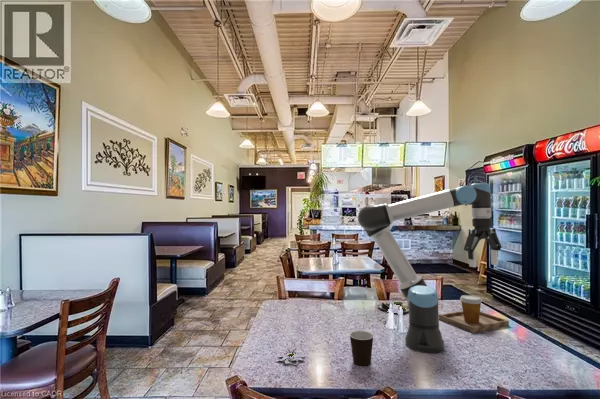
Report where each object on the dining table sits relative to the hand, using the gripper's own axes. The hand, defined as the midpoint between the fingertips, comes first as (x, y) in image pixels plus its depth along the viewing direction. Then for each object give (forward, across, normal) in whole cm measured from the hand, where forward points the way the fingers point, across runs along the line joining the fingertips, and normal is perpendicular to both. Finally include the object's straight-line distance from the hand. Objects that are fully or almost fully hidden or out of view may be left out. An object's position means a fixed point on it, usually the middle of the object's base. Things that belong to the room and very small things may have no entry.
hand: (483, 265), depth 137 cm
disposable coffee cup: (+31, +10, +16) cm, 36 cm away
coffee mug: (+32, -61, +3) cm, 69 cm away
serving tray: (+32, +12, +17) cm, 38 cm away
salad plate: (+32, -10, +50) cm, 60 cm away
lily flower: (+32, -86, +15) cm, 93 cm away
